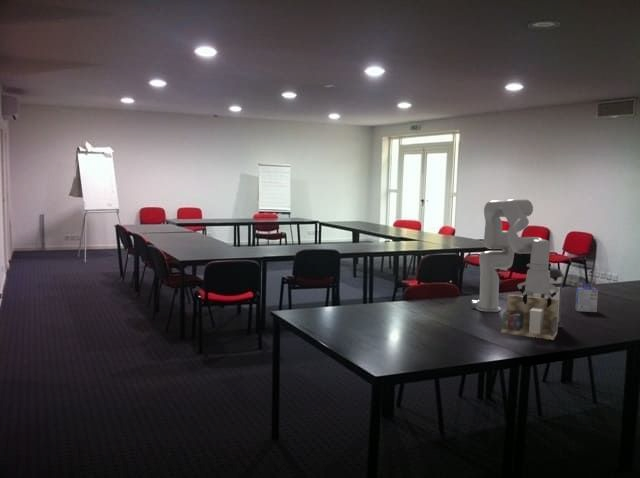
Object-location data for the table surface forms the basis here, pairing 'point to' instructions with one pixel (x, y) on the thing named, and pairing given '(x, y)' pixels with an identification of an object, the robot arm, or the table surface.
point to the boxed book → (536, 320)
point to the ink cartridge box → (586, 299)
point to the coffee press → (557, 282)
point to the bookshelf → (519, 317)
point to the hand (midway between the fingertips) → (536, 305)
